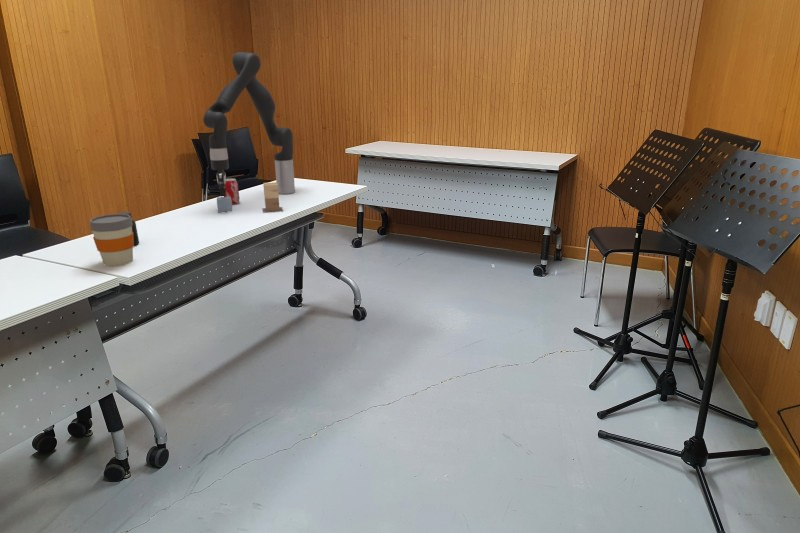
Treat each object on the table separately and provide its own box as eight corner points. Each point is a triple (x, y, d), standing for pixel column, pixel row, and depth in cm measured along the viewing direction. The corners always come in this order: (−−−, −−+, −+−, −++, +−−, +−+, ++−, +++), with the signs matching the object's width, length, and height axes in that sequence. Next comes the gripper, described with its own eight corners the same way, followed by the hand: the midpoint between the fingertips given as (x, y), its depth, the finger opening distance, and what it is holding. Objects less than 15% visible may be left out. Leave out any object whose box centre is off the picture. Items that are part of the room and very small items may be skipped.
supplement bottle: (124, 242, 209) (119, 211, 205) (142, 242, 208) (137, 211, 204) (115, 247, 202) (109, 215, 198) (133, 247, 202) (128, 215, 198)
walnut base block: (265, 208, 256) (264, 195, 254) (278, 207, 257) (277, 195, 255) (266, 211, 250) (265, 198, 248) (279, 210, 252) (278, 197, 250)
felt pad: (262, 209, 257) (262, 208, 257) (282, 207, 259) (281, 206, 259) (262, 213, 249) (262, 212, 249) (283, 212, 251) (283, 211, 251)
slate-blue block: (218, 210, 256) (217, 197, 254) (232, 209, 258) (230, 196, 256) (218, 213, 251) (216, 200, 249) (231, 212, 252) (230, 199, 250)
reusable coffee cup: (89, 263, 185) (80, 220, 180) (124, 253, 195) (116, 212, 190) (112, 270, 179) (103, 225, 174) (146, 259, 189) (139, 216, 184)
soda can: (230, 206, 262) (228, 181, 258) (221, 204, 266) (218, 179, 262) (243, 203, 267) (240, 179, 263) (233, 202, 272) (231, 177, 268)
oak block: (264, 196, 254) (263, 182, 252) (277, 195, 255) (276, 182, 253) (265, 198, 248) (263, 185, 246) (278, 197, 250) (277, 184, 248)
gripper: (227, 160, 241) (231, 197, 246) (228, 156, 254) (231, 191, 259) (209, 160, 239) (213, 198, 244) (211, 156, 252) (215, 192, 257)
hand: (223, 194), depth 251 cm, fingers open, 8 cm apart
